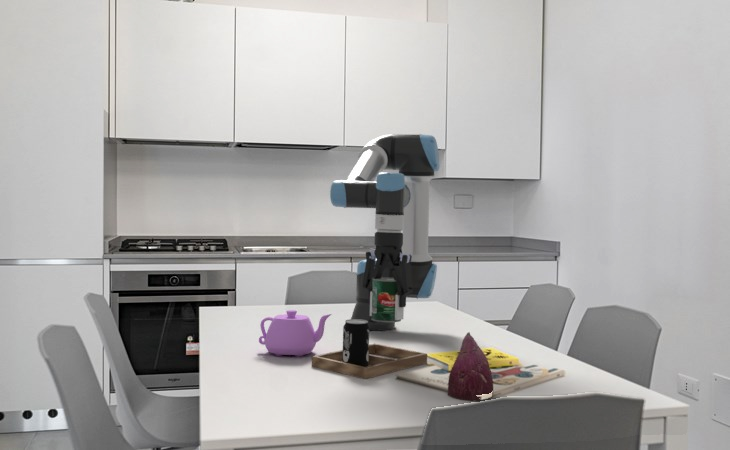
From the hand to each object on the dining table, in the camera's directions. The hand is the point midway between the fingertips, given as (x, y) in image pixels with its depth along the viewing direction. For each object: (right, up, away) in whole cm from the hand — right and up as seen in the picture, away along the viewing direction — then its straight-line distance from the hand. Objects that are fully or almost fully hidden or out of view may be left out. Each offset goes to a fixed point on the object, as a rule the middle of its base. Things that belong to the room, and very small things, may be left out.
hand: (386, 317), depth 189 cm
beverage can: (-8, -12, -9) cm, 17 cm away
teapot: (-25, -11, +7) cm, 28 cm away
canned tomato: (0, -1, 0) cm, 1 cm away
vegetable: (+18, -13, -31) cm, 38 cm away
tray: (-4, -12, -4) cm, 13 cm away
